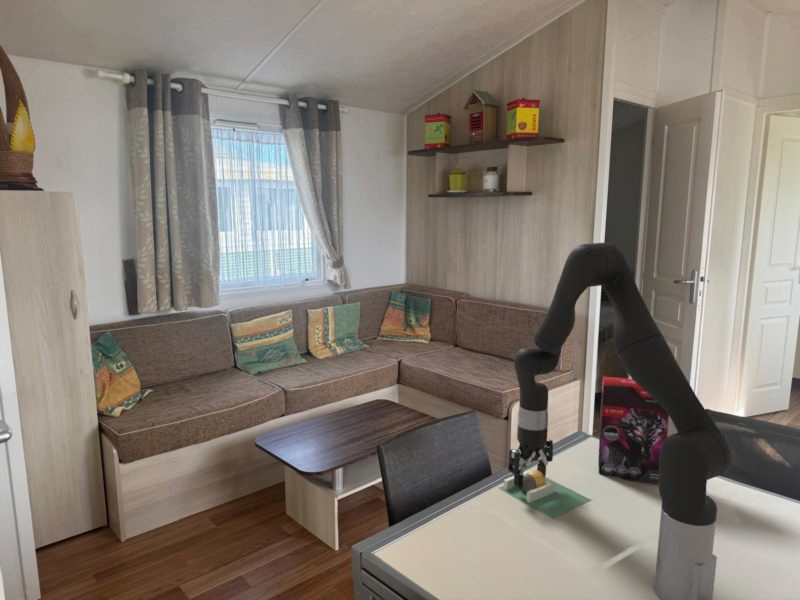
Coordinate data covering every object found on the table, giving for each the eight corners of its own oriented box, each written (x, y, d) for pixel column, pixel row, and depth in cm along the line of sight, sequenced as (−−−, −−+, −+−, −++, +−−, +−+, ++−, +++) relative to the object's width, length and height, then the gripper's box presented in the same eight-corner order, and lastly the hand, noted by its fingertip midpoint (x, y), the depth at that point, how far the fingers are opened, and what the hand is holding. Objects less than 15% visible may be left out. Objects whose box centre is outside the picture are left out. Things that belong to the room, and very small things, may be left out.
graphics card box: (597, 477, 156) (603, 382, 151) (596, 466, 163) (602, 375, 158) (664, 486, 151) (673, 388, 147) (660, 474, 158) (668, 381, 153)
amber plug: (543, 492, 147) (547, 477, 145) (529, 498, 144) (533, 483, 142) (529, 481, 150) (533, 466, 149) (516, 486, 147) (520, 471, 146)
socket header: (555, 491, 146) (556, 482, 146) (529, 502, 141) (529, 493, 140) (529, 478, 154) (530, 469, 153) (503, 488, 148) (504, 479, 147)
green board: (591, 502, 142) (591, 500, 142) (552, 521, 134) (552, 518, 134) (536, 475, 157) (536, 472, 157) (497, 490, 148) (498, 487, 148)
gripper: (524, 434, 137) (521, 496, 140) (562, 421, 145) (559, 480, 148) (502, 424, 143) (500, 484, 146) (540, 413, 151) (537, 469, 154)
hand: (530, 482), depth 147 cm, fingers open, 8 cm apart
